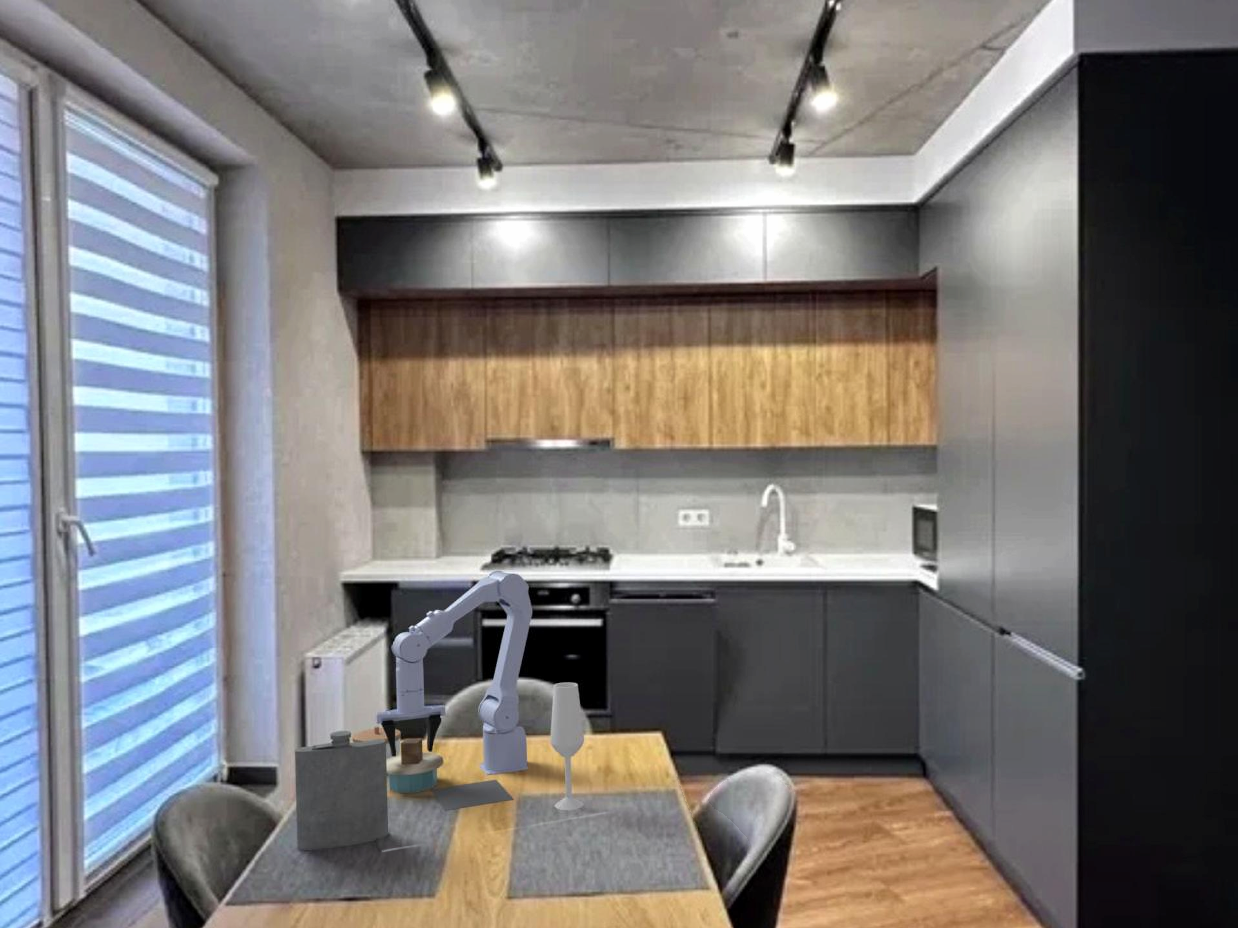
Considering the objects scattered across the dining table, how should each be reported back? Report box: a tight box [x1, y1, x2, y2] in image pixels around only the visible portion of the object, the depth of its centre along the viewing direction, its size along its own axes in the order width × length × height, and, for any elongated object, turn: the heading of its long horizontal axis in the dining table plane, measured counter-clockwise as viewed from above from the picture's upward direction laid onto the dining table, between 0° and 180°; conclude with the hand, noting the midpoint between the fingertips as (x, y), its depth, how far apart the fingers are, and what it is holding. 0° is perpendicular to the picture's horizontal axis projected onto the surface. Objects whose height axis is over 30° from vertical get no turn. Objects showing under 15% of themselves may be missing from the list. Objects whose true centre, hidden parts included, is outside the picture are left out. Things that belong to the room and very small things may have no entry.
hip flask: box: [294, 730, 389, 851], centre depth 172 cm, size 16×4×20 cm, turn 107°
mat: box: [430, 779, 515, 812], centre depth 195 cm, size 14×14×1 cm
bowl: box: [387, 768, 438, 794], centre depth 203 cm, size 10×10×4 cm
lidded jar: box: [352, 725, 402, 759], centre depth 216 cm, size 11×11×9 cm
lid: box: [386, 738, 444, 775], centre depth 203 cm, size 13×13×5 cm
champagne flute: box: [549, 681, 585, 811], centre depth 187 cm, size 7×7×24 cm
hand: (411, 752), depth 203 cm, fingers open, 7 cm apart
